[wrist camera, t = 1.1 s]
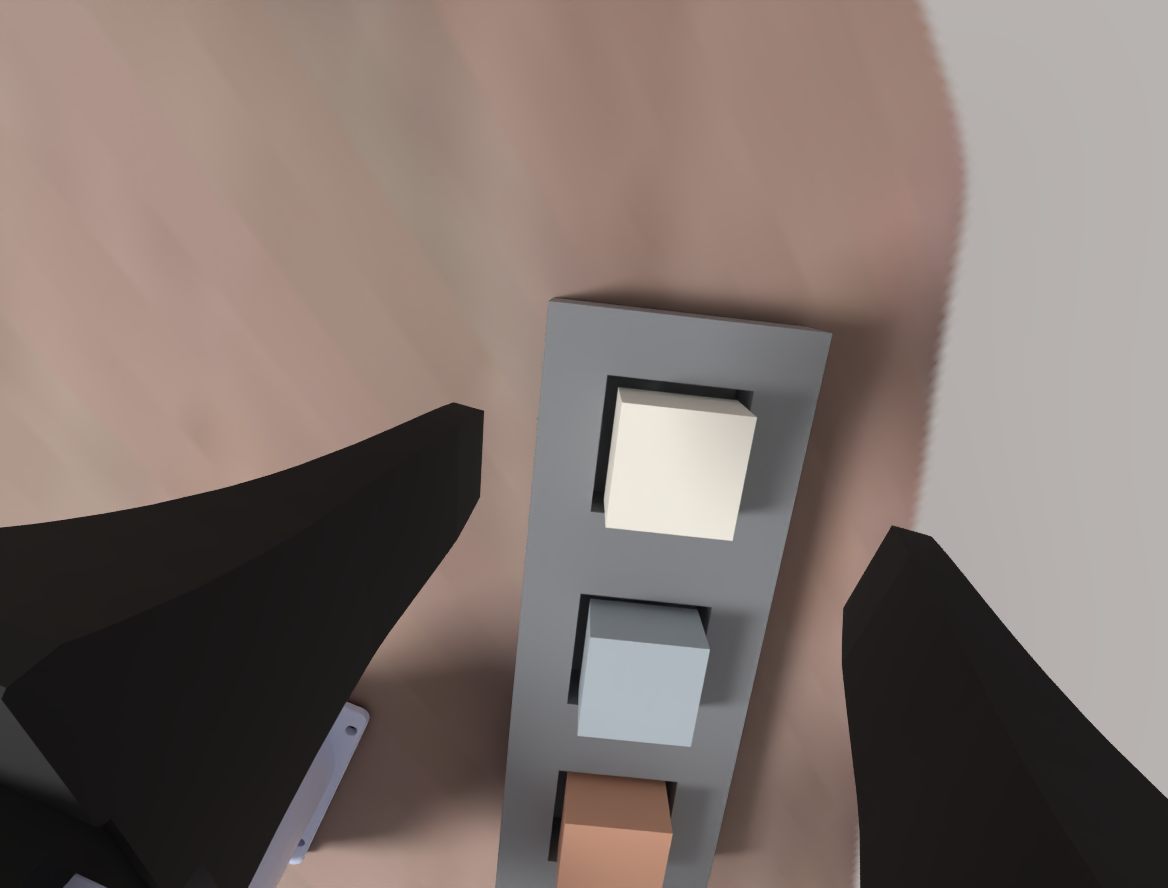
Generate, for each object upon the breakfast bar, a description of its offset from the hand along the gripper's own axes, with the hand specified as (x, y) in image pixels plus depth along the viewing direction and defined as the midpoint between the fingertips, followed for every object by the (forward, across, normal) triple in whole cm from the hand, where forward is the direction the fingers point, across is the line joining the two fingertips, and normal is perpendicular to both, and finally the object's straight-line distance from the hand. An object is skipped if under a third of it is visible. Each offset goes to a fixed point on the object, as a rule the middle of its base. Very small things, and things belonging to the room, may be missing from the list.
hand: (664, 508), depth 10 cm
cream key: (+9, 0, +5) cm, 10 cm away
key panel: (+8, 0, +13) cm, 15 cm away
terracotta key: (+4, -1, +20) cm, 20 cm away
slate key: (+6, 0, +12) cm, 14 cm away
